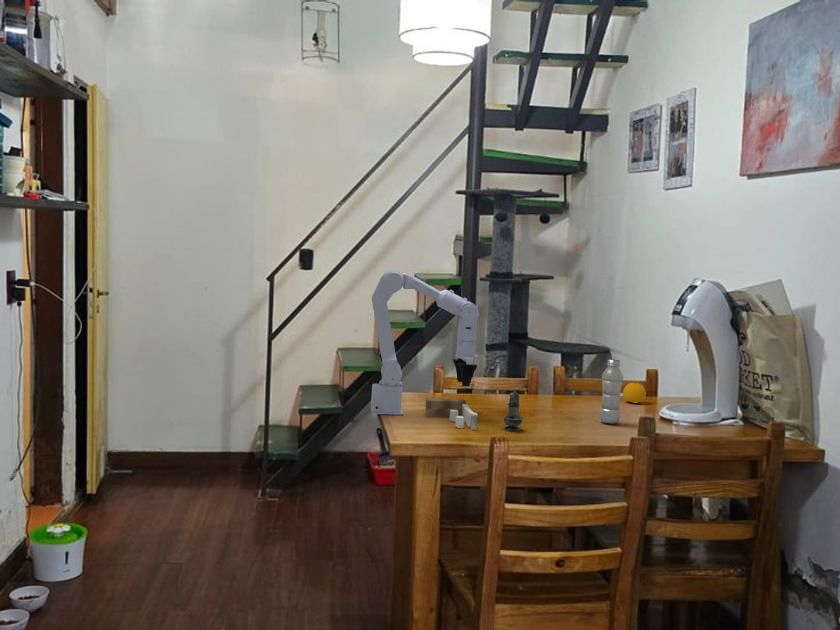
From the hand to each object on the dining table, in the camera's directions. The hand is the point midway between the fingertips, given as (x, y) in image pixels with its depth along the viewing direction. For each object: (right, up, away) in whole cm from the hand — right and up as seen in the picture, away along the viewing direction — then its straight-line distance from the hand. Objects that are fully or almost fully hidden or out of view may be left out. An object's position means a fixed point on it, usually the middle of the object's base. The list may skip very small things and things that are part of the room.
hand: (463, 384), depth 253 cm
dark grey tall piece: (+13, -12, -16) cm, 24 cm away
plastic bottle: (+46, -13, 0) cm, 47 cm away
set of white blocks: (-1, -11, -12) cm, 16 cm away
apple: (+63, -10, +38) cm, 74 cm away
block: (-6, -10, -2) cm, 11 cm away
